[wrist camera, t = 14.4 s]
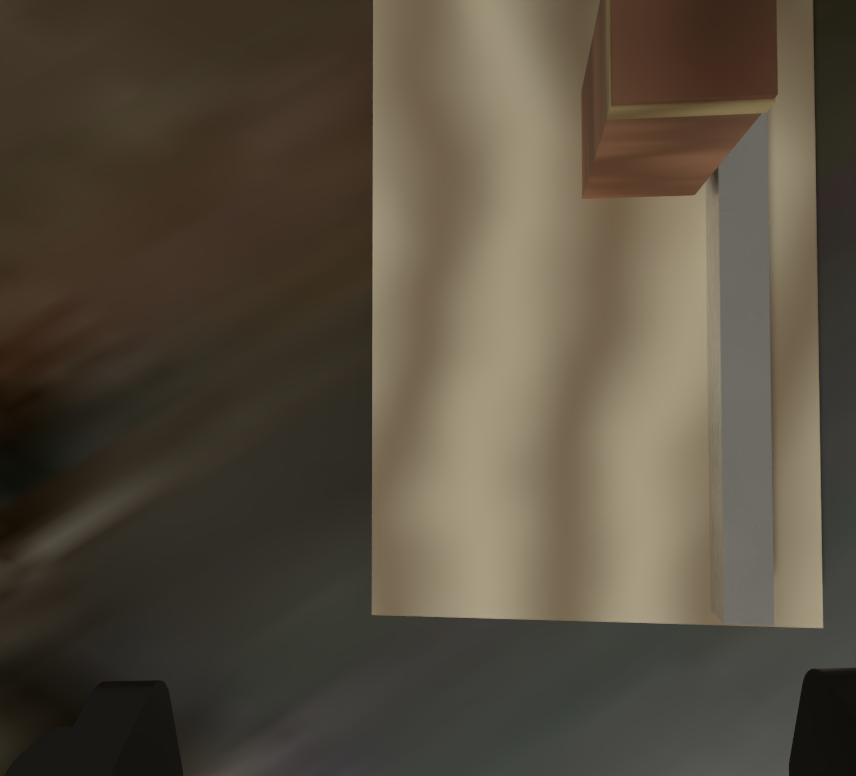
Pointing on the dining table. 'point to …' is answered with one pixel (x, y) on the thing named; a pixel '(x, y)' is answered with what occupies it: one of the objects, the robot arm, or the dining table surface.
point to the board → (563, 336)
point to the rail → (740, 384)
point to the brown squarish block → (672, 92)
